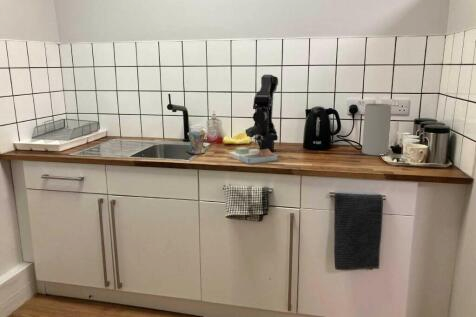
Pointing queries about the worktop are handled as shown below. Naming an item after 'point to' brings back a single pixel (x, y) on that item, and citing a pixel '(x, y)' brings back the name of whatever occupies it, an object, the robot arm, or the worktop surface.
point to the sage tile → (242, 150)
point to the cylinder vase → (376, 129)
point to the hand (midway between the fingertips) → (262, 152)
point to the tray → (258, 159)
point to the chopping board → (252, 154)
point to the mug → (196, 142)
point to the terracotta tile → (265, 153)
